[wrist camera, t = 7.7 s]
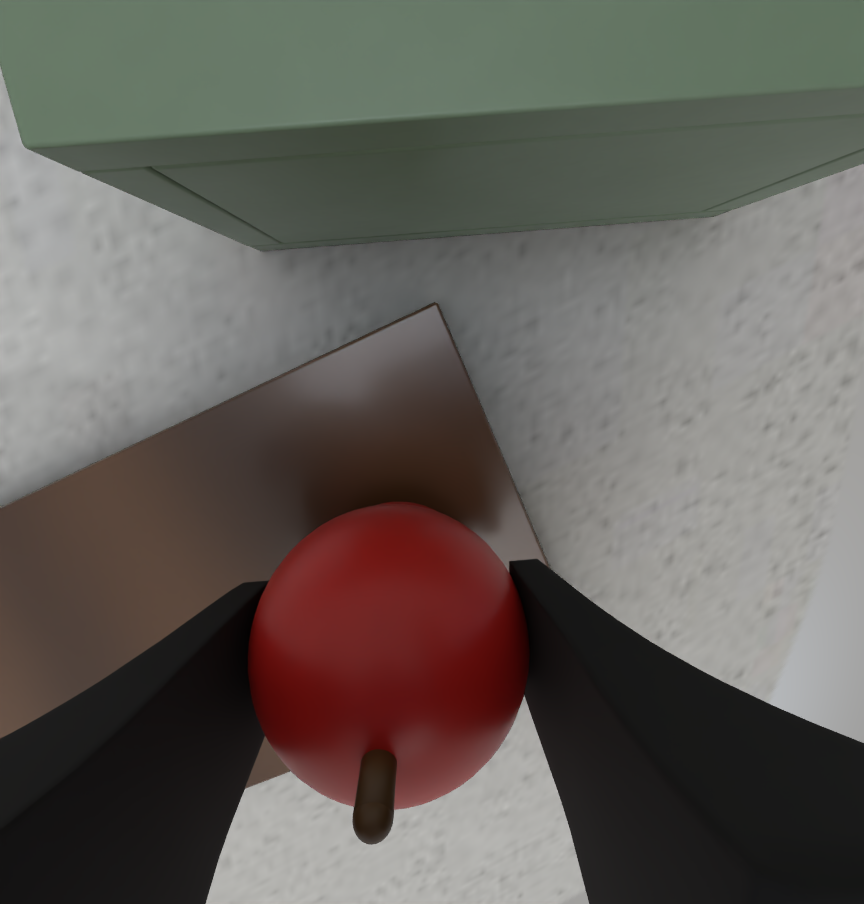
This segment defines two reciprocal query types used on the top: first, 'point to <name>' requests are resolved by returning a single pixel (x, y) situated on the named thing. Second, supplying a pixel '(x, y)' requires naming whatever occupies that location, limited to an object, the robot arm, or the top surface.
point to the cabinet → (437, 109)
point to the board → (241, 507)
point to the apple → (388, 659)
